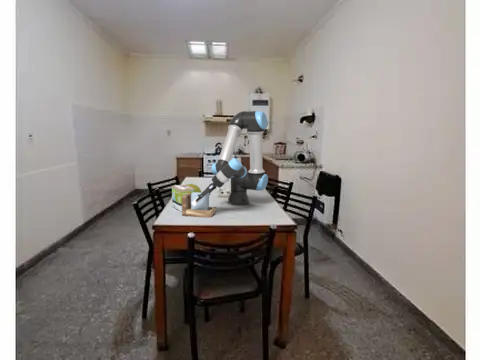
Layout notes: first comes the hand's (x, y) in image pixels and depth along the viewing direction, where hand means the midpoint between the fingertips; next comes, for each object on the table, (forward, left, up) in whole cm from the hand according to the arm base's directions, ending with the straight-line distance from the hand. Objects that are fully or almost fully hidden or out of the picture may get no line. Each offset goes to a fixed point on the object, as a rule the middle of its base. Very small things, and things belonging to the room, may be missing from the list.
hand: (196, 202), depth 206 cm
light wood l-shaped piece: (0, +2, -7) cm, 8 cm away
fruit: (-28, -14, -8) cm, 33 cm away
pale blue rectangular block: (0, +3, -6) cm, 7 cm away
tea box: (-12, -13, -8) cm, 19 cm away
